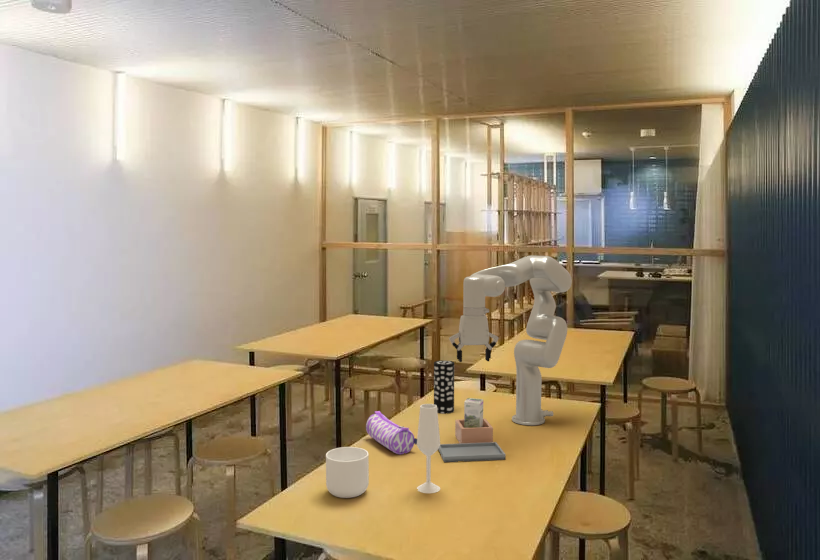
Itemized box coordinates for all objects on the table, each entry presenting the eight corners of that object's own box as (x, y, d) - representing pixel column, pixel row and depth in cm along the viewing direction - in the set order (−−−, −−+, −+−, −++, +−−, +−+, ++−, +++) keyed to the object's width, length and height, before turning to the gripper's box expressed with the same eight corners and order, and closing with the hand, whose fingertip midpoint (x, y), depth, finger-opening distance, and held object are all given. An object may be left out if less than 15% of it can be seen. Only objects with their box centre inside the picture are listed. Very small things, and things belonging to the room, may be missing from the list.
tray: (496, 447, 218) (496, 442, 218) (505, 459, 206) (505, 454, 206) (438, 449, 216) (438, 444, 215) (444, 462, 204) (444, 456, 204)
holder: (485, 434, 231) (485, 418, 231) (492, 444, 220) (492, 427, 220) (455, 435, 230) (455, 419, 229) (461, 446, 219) (461, 428, 219)
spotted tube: (452, 414, 257) (452, 365, 256) (432, 413, 259) (432, 364, 258) (455, 408, 266) (455, 360, 264) (435, 407, 267) (435, 360, 266)
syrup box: (483, 438, 227) (483, 398, 226) (479, 443, 221) (480, 402, 220) (467, 436, 229) (468, 397, 228) (463, 442, 223) (463, 401, 222)
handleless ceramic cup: (341, 505, 172) (341, 464, 171) (317, 491, 181) (317, 452, 180) (377, 494, 179) (377, 454, 179) (352, 481, 189) (352, 444, 188)
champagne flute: (443, 491, 181) (443, 408, 179) (420, 494, 179) (420, 410, 177) (435, 482, 187) (436, 402, 185) (413, 485, 185) (413, 403, 183)
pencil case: (418, 453, 213) (418, 425, 212) (393, 458, 208) (393, 429, 207) (385, 435, 231) (385, 409, 231) (362, 439, 227) (362, 413, 226)
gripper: (495, 310, 226) (495, 358, 228) (447, 311, 225) (447, 359, 226) (501, 313, 219) (500, 362, 220) (451, 313, 217) (451, 363, 218)
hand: (473, 361), depth 223 cm, fingers open, 9 cm apart
